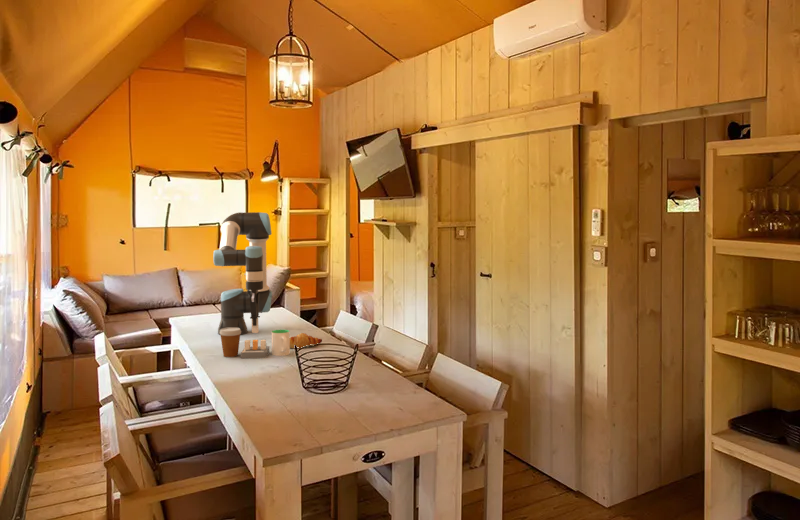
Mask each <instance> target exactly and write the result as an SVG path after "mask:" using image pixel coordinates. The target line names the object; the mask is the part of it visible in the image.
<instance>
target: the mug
mask: <svg viewBox="0 0 800 520" xmlns="http://www.w3.org/2000/svg"><path fill="white" fill-rule="evenodd" d="M290 335H291V334H290V329H289V330H288V329H274V330H272V331H271V356H277V357H282V356H283V357H284V356H288V355H290V353H291V352H290V351H291V350H290V349H291V348H290V337H291V336H290Z"/></svg>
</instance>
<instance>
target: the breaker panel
mask: <svg viewBox="0 0 800 520" xmlns="http://www.w3.org/2000/svg"><path fill="white" fill-rule="evenodd" d="M269 353H270V346H267V345H266V349H265V350H261V345H260V346H259V345H258V349H257V350H253V346H250V350H245V347H243V350H242V351H241V352H240V359H267V358H268V356H269Z"/></svg>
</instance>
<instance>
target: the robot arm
mask: <svg viewBox="0 0 800 520" xmlns="http://www.w3.org/2000/svg"><path fill="white" fill-rule="evenodd" d="M220 225H221V226H220V233H221V236H220V243H219V248H218V249H215V250H213V255H212V256H213V258H212V260H213V265H214V266H216V267H241V266H242V267H243V266H245V273H244V276H245V280H246V282H245V289H246V290H247V291H244V288H232V289H227V290H224V291H222V292H221V294H220V300H219V301H220V322H219V324H218V325H219V326H218V328H217V334H218V335H220V333H219V332H220V330H221V329H223V328H233V327H234V328H240V330H241V334H240V336H241V335H244V334H247V333H248V327H247V323H246V322H245V317H244V314H250V317H249V319H250V320H251V333H252V334H255V333H256V334H257V333H259V318H260V317H261V315H260V314H262V313H268V312H270V310H271V306H272V300H273V291H272V290H270V287H269V285H268V284H267V241H268V240H269V238H270V236H271V235H272V225H271V220H270V215H269V214H268V212H257V211H256V212H255V211H254V212H241V211H240V212H235V213H232V214H230V215H229V216H227V217H226V218H225V219H224V220H223V221H222V223H221V224H220ZM240 235H242V236H245V237H246V240H247V241H248V243H249V245H248V246H246V247H245V249H237V244H238V237H239V236H240Z"/></svg>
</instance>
